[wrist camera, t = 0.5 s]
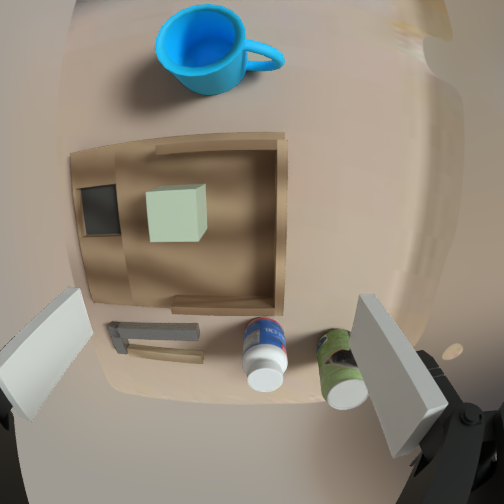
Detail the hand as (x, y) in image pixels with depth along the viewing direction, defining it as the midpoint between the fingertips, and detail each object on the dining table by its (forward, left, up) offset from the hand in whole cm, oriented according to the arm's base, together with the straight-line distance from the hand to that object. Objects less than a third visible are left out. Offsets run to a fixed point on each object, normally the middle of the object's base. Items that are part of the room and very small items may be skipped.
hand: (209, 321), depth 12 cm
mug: (-18, -1, -22) cm, 28 cm away
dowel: (+21, -12, -22) cm, 32 cm away
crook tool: (+18, -13, -21) cm, 31 cm away
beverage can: (+18, +13, -21) cm, 31 cm away
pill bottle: (+16, +3, -21) cm, 27 cm away
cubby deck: (+1, -8, -21) cm, 23 cm away
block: (-1, -6, -20) cm, 21 cm away
